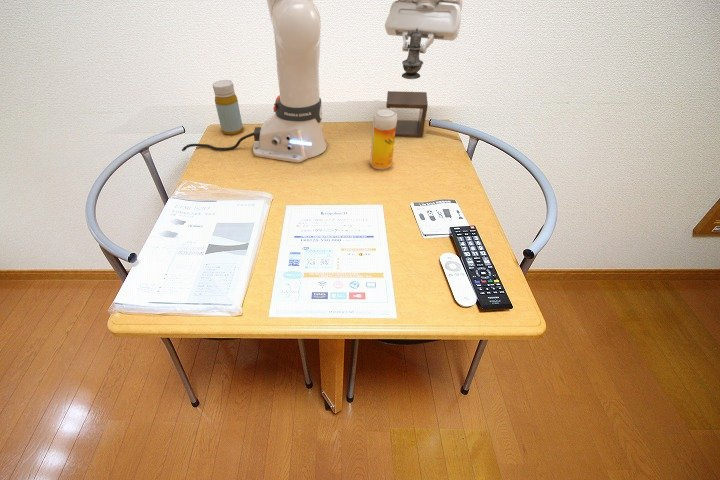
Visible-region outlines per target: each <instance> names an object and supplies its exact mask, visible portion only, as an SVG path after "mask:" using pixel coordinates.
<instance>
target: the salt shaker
mask: <svg viewBox="0 0 720 480" xmlns="http://www.w3.org/2000/svg"><path fill="white" fill-rule="evenodd" d="M421 37H422V35H421V33H420V32H418V28H416V31H415V32H413V33H412V34H411V37H409V45H410V46H408V48H409V49H408V52H407V53H408V54H407V57H406V59H404V60H402V68H403V70H404V72H403V73H402V74H401V77H402V78H403V79H406V80H417V79H420V78H421V74H420V73H419V71H421V68H422V67H423V65H424V61H423V60H421V59H420V54H421V53H420V47H421V44H422V43H421V42H422V38H421Z"/></svg>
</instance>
